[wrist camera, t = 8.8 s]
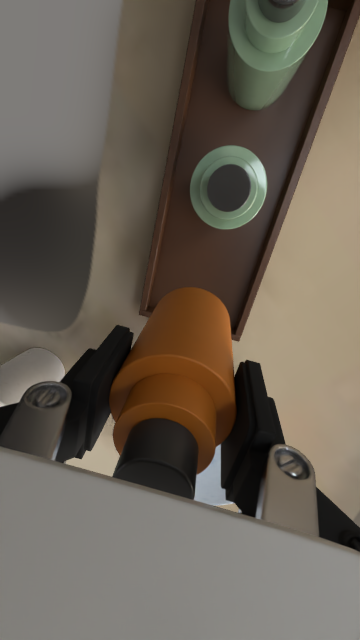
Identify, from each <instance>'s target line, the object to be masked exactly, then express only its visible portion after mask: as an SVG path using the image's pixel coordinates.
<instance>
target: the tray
mask: <svg viewBox="0 0 360 640" xmlns="http://www.w3.org/2000/svg"><path fill="white" fill-rule="evenodd" d="M229 6H230V0H196V4H195V10H194V15H193V21H192V26H191V32H190V37H189V43H188V48H187V54H186V59H185V65H184V70H183V76H182V81H181V87H180V92H179V98H178V103H177V108H176V114H175V119H174V125H173V130H172V136H171V141H170V147H169V152H168V158H167V163H166V169H165V174H164V180H163V185H162V191H161V196H160V202H159V207H158V213H157V218H156V224H155V229H154V234H153V240H152V245H151V251H150V256H149V262H148V267H147V273H146V278H145V284H144V289H143V295H142V300H141V306H140V311H139V315H142V316H145V317H149V318H150V316H151V315H152V313H153V311H154V309H155V308H156V306H157V304H158V303H159V301H160V300H161V299H162V298H163V297H164V296H165V295H167V294H168V293H170V292H172V291H174V290H176V289H179V288H184V287H195V288H200V289H204V290H206V291H208V292H210V293H212V294H214V295H215V296H216V297H217V298H219V299H220V300H221V302H222V303H223V304H224V306H225V307H226V309H227V311H228V314H229V318H230V327H231V340H235V341H238V342H239V341H240V338H241V335H242V333H243V330H244V327H245V325H246V322H247V319H248V316H249V314H250V311H251V308H252V306H253V303H254V300H255V297H256V295H257V292H258V289H259V287H260V284H261V281H262V279H263V276H264V273H265V270H266V268H267V265H268V262H269V260H270V257H271V254H272V251H273V249H274V246H275V243H276V241H277V238H278V235H279V232H280V230H281V227H282V224H283V222H284V219H285V216H286V214H287V211H288V208H289V205H290V203H291V200H292V197H293V195H294V192H295V189H296V186H297V184H298V181H299V178H300V176H301V173H302V170H303V168H304V165H305V162H306V159H307V157H308V154H309V151H310V149H311V146H312V143H313V140H314V138H315V135H316V132H317V130H318V127H319V124H320V121H321V119H322V116H323V113H324V111H325V108H326V105H327V103H328V100H329V97H330V94H331V92H332V89H333V86H334V84H335V81H336V78H337V75H338V73H339V70H340V67H341V65H342V62H343V59H344V57H345V54H346V51H347V48H348V46H349V43H350V40H351V38H352V35H353V32H354V29H355V27H356V24H357V21H358V19H359V16H360V0H328V6H327V11H326V16H325V19H324V23H323V25H322V28H321V30H320V32H319V34H318V36H317V38H316V40H315V42H314V43H313V45H312V47H311V48H310V50H309V51H308V53H307V55H306V56H305V58H304V60H303V61H302V63H301V65H300V66H299V68H298V70H297V71H296V73H295V74H294V76H293V78H292V79H291V81H290V83H289V84H288V86H287V88H286V89H285V91H284V92H283V94H282V95H281V97H280V98H279V99H278V100H277V101H276V102H275V103H273V104H272V105H270V106H269V107H267V108H265V109H261V110H247V109H244V108H242V107H241V106H239V105H238V104H237V103H236V102H235V101H234V100H233V98H232V97H231V95H230V93H229V90H228V87H227V81H226V66H227V40H228V16H229ZM227 145H236V146H241V147H244V148H246V149H248V150H250V151H251V152H253V153H254V154H255V155H256V156H257V157H258V158H259V160H260V161H261V163H262V164H263V166H264V169H265V172H266V176H267V193H266V197H265V200H264V203H263V205H262V207H261V209H260V210H259V212H258V213H257V214H256V215H255V217H254V218H252V219H251V220H250V221H249V222H247V223H246V224H244V225H242V226H240V227H237V228H234V229H218V228H214V227H212V226H210V225H208V224H206V223H205V222H204V221H203V220H202V219H201V218H200V217H199V216H198V215H197V213H196V212H195V210H194V208H193V205H192V202H191V198H190V182H191V178H192V175H193V172H194V170H195V168H196V166H197V164H198V163H199V162H200V160H201V159H202V158H203V157H204V156H205V155H206V154H208V153H209V152H211V151H212V150H214V149H216V148H218V147H222V146H227Z"/></svg>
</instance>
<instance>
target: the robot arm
mask: <svg viewBox="0 0 360 640" xmlns="http://www.w3.org/2000/svg"><path fill="white" fill-rule="evenodd" d="M132 340H133V332H130V328H127V327H123V326H120V325H116V326H115V328H114V329H113V330H112V331H111V333H110V334H109V335H108V336H107V338H106V339H105V340H104V341H103V343H102V344H101V345H100V346H99V348H98V349H97V350H95V349H91V348H89V349H88V350H87V351H86V352H85V353H84V354H83V355H82V356H81V358H80V359H79V360H78V361H77V362H76V363H75V364H74V366H73V367H72V368H71V369H70V370H69V371H68V373H67V374H66V375H65V376H64V377H63V378H62V380H61V381H60V382H57V381H44V382H39V383H37V384H34V385H32V386H31V387H29V388H28V389H27V390H26V391H25V392H24V394H23V396H22V398H21V399H20V401H19V402H18V403H14V404H10V405H6V406H2V407H0V640H360V528H359V527H358V526H357V525H356V524H355V523H354V522H353V521H352V520H351V519H350V518H349V517H348V516H347V515H346V514H345V513H343V512H342V511H341V510H340V509H339V508H338V507H337V506H336V505H335V504H334V503H333V502H332V501H331V500H330V499H329V498H328V497H326V496H325V495H324V494H323V493H322V492H321V491H320V490H319V489H318V488H317V487H316V480H315V472H314V468H313V466H312V464H311V463H310V461H309V460H308V459H307V458H306V456H305V455H303V454H302V453H301V452H300V451H299V450H297V449H295V448H293V447H291V446H288V445H286V444H285V440H284V436H283V433H282V429H281V425H280V421H279V417H278V413H277V410H276V406H275V402H274V399H273V398H271V397H268V396H267V392H266V387H265V383H264V379H263V375H262V370H261V366H260V363H256V362H253V361H249V360H246V361H245V363H244V362H241V363H240V364H239V367H238V369H237V372H236V375H235V377H234V380H235V393H236V406H237V415H236V420H235V423H234V426H233V428H232V430H231V432H230V434H229V435H228V437H227V438H226V439H225V440H224V441H223V442H222V443H221V488H222V489H225V497H226V500H227V501H230V502H234V503H235V504H236V505H237V506H238V508H239V511H238V513H237V512H233V511H230V510H226V509H223V508H219V507H216V506H212V505H209V504H206V503H202V502H199V501H195V500H192V499H188V498H185V497H181V496H178V495H174V494H171V493H167V492H164V491H160V490H157V489H153V488H149V487H146V486H142V485H139V484H135V483H132V482H128V481H125V480H121V479H118V478H114V477H111V476H107V475H103V474H100V473H96V472H93V471H89V470H85V469H82V468H78V467H75V466H71V465H67V464H66V460H69V459H71V458H74V457H75V458H79V459H82V457H83V455H84V453H85V452H86V450H88V451H91V450H92V449H93V447H94V445H95V443H96V441H97V439H98V437H99V435H100V433H101V431H102V429H103V427H104V425H105V423H106V421H107V419H108V417H109V415H110V413H111V410H110V405H109V396H110V389H111V385H112V382H113V380H114V378H115V376H116V375H117V373H118V371H119V370H120V368H121V366H122V364H123V363H124V361H125V359H126V358H127V356H128V354H129V352H130V351H131V345H132Z"/></svg>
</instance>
